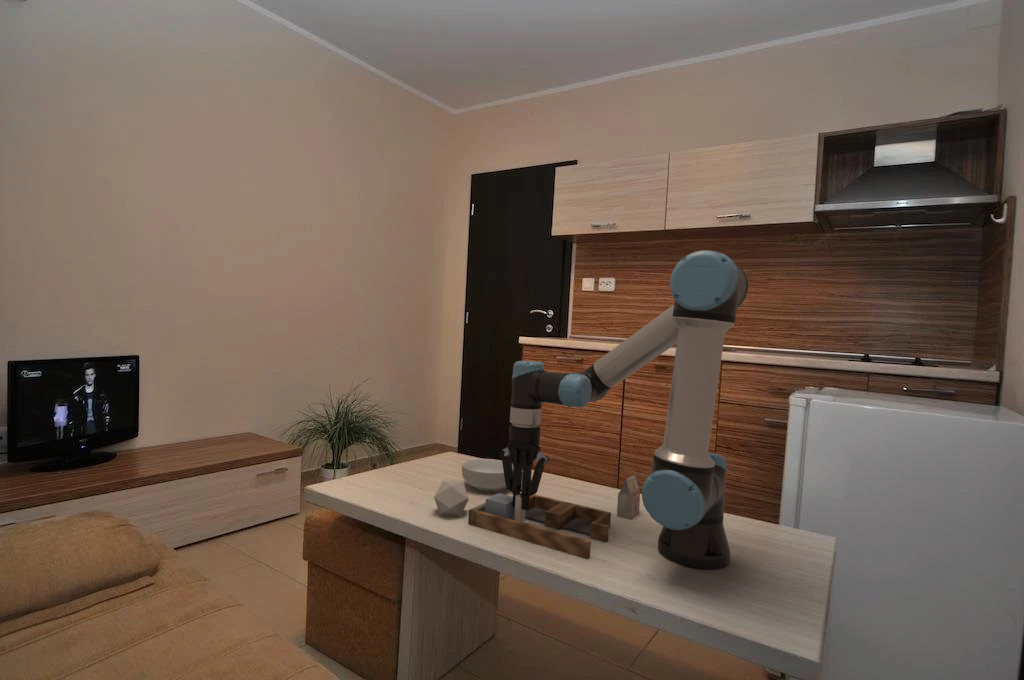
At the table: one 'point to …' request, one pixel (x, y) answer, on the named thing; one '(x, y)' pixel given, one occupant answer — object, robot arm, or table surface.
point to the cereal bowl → (484, 474)
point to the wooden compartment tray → (550, 524)
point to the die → (451, 498)
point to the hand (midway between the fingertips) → (519, 521)
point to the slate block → (500, 506)
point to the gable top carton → (629, 499)
